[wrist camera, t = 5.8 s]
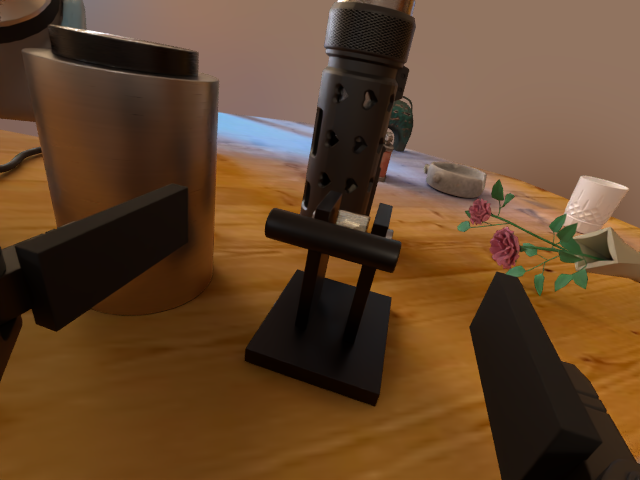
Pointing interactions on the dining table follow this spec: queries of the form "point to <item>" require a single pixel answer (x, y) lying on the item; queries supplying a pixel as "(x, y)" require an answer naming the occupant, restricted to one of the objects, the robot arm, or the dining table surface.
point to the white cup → (593, 203)
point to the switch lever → (335, 237)
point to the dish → (455, 179)
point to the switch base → (328, 323)
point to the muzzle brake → (357, 99)
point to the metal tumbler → (129, 145)
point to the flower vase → (584, 250)
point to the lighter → (386, 156)
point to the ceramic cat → (401, 124)
